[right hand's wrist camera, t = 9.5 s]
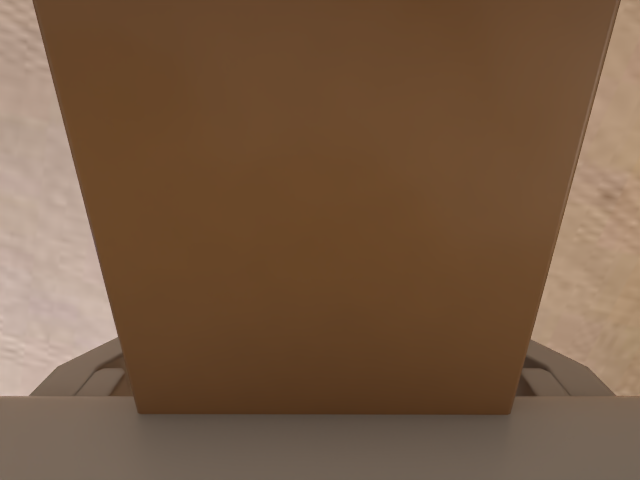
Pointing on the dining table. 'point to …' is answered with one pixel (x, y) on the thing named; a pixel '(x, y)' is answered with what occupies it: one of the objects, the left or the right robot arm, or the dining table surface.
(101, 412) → the right robot arm
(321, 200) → the bar
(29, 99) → the dining table surface
